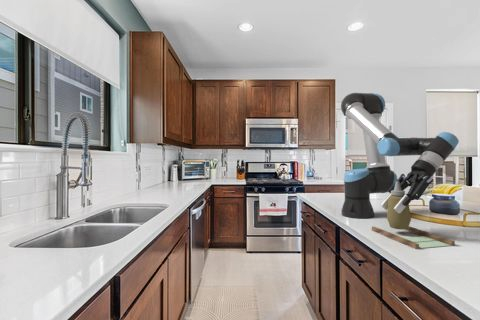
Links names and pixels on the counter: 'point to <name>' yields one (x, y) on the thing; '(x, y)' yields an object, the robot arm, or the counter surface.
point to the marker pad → (426, 242)
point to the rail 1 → (396, 237)
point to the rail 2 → (431, 236)
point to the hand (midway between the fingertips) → (389, 209)
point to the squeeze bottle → (392, 215)
